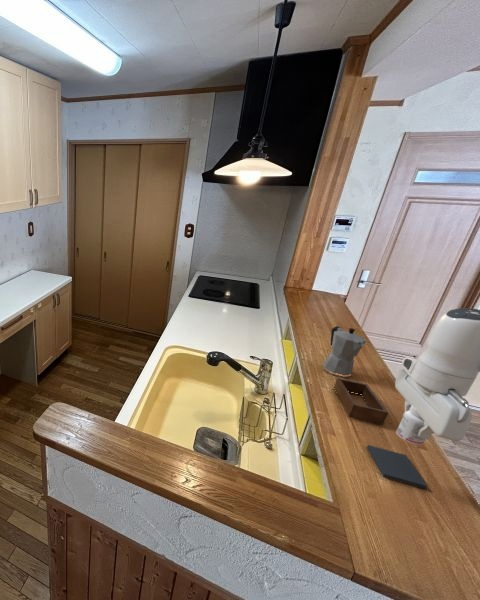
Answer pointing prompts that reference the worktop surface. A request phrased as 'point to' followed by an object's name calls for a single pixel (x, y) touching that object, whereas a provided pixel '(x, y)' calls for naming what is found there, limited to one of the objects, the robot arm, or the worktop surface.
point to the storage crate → (370, 413)
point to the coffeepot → (343, 351)
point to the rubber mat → (396, 466)
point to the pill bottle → (411, 427)
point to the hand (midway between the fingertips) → (414, 427)
